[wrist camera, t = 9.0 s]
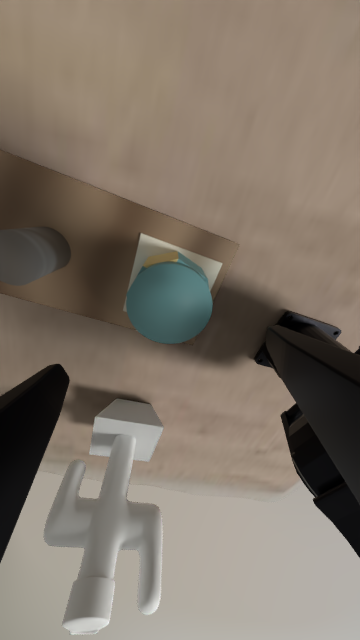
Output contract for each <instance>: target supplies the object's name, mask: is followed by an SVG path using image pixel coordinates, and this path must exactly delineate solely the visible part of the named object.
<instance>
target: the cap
mask: <svg viewBox="0 0 360 640" xmlns="http://www.w3.org/2000/svg"><path fill="white" fill-rule="evenodd" d="M126 296H127V299H126V309H127V314H128V317H129V319H130V321H131V323H132V325H133V326H134V327H135V329H136V330H137V331H138V332H139V333H141V334H142V335H143V336H145V337H146V338H148V339H150V340H152V341H155V342H159V343H165V344H175V343H181V342H184V341H187V340H189V339H191V338H193V337H195V336H196V335H198V334H199V333H200V332H201V331H202V330H203V329H204V328H205V326H206V325H207V323H208V321H209V319H210V317H211V313H212V306H213V305H212V296H211V293H210V290H209V285H208V278H207V277H206V275H205V273H204V271H203V269H202V268H201V267H200V266H198V265H197V264H195V263H194V262H193V261H191V260H190V259H188V258H187V257H185V256H184V255H183V254H181V253H180V252H178V251H175V252H170V253H165V254H160V255H155V256H151V257H148V258H147V260H146V261H145V263H144V265H143V266H142V268H141V270H140V271H139V273H138V275H137V277H136V278H135V280H134V282H133V283H132V285H131V287H130V289H129V290H128V292H127V294H126Z"/></svg>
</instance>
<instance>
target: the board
mask: <svg viewBox="0 0 360 640" xmlns="http://www.w3.org/2000/svg"><path fill="white" fill-rule="evenodd" d="M239 245H240V244H237V243H235V242H232V241H230V240H227V239H225V238H222V237H220V236H217V235H215V234H212V233H210V232H207V231H204V230H202V229H199V228H197V227H194V226H192V225H189V224H187V223H184V222H182V221H179V220H177V219H174V218H172V217H169V216H167V215H164V214H162V213H159V212H156V211H154V210H151V209H149V208H146V207H144V206H141V205H139V204H136V203H134V202H131V201H129V200H126V199H124V198H121V197H119V196H116V195H114V194H111V193H109V192H106V191H103V190H101V189H98V188H96V187H93V186H91V185H88V184H86V183H83V182H81V181H78V180H76V179H73V178H71V177H68V176H66V175H63V174H61V173H58V172H55V171H53V170H50V169H48V168H45V167H43V166H40V165H38V164H35V163H33V162H30V161H28V160H25V159H23V158H20V157H18V156H15V155H13V154H10V153H7V152H5V151H2V150H0V293H2V294H5V295H9V296H13V297H16V298H20V299H24V300H27V301H31V302H35V303H38V304H42V305H46V306H49V307H53V308H57V309H60V310H64V311H68V312H71V313H75V314H79V315H83V316H86V317H90V318H94V319H97V320H101V321H105V322H108V323H112V324H116V325H119V326H123V327H127V328H130V329H134V330H136V329H135V327H134V326H133V325H132V323H131V321H130V319H129V317H128V314H127V309H126V299H127V296H126V294H127V292H128V290H129V289H130V287H131V285H132V283H133V282H134V280H135V278H136V277H137V275H138V273H139V271H140V270H141V268H142V266H143V265H144V263H145V261H146V260H147V258H148V257H151V256H155V255H160V254H165V253H170V252H175V251H178V252H180V253H181V254H183V255H184V256H185V257H187V258H188V259H190V260H191V261H193V262H194V263H195V264H197V265H198V266H200V267H201V268H202V269H203V271H204V273H205V275H206V277H207V278H208V285H209V290H210V293H211V296H212V303H213V301H214V299H215V297H216V295H217V292H218V290H219V288H220V286H221V284H222V282H223V280H224V277H225V275H226V273H227V271H228V269H229V267H230V265H231V262H232V260H233V258H234V256H235V254H236V252H237V250H238V247H239ZM196 338H197V335H196V336H195V337H193V338H191V339H189V340H187V341H184V342H182V343H186V344H189V345H193V344H194V342H195V340H196Z"/></svg>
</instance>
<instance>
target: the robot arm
mask: <svg viewBox="0 0 360 640" xmlns="http://www.w3.org/2000/svg"><path fill="white" fill-rule="evenodd" d="M289 316H290V317H289ZM288 317H289V318H288ZM340 334H341V330H340V329H339V328H337V327H335V326H332V325H329V324H326V323H323V322H320V321H317V320H314V319H311V318H308V317H306V316H303V315H300V314H297V313H294V312H291V311H288V312H286V313H285V314H284V315H283V316H282V318H281V319H280V321H279V322H278V324H277V325H275V326H270V327H268V328H267V331H266V342H265V343H264V345H263V346H262V347H261V349H260V350H259V352H258V353H257V355H256V356H255V358H254V360H255V362H256V363H257V364H259V365H263V366H267V367H271V368H273V369H274V370H275V372H276V373H277V375H278V376H279V378H281V379H282V380H283V382H284V384H285V385H286V387H287V389H288V390H289V392H290V393H291V395H292V397H293V398H294V400H295V401H296V404H294V405H293V406H292V407H291V408H290V409H289V410H288V411H284V412H283V413H282V414H281V419H282V423H283V427H284V430H285V434H286V438H287V442H288V446H289V450H290V453H291V457H292V461H293V464H294V467H295V469H296V472H297V474H298V475H299V476H300V478H301V480H302V481H303V483H304V484H305V485H306V487H307V488H308V489H309V491H310V492H311V493H312V494H313V495H314V497H315V498H314V499H313V501H314V504H315V505H316V506H317V507H318V508H319V509H320V510H321V511H322V512H323V513H324V514H325V515H326V516H327V517H328V518H329V519H330V520H331V521H332V522H333V524H334V525H335V526H336V527H337V529H338V530H339V531H340V532H341V533H342V534H343V536H344V537H345V538H346V539H347V541H348V542H349V543H350V545H351V546H352V548H353V549H354V551H355V552H356V553H357V555H358V556H359V557H360V346H359V349H358V350H357V351H356V352H355V353H352V352H351V351H350V350H348V349H347V348H346V347H344V346H343V345H342V344H340V343H339V342H338V341H336V339H337V337H338V336H339V335H340ZM259 359H260V360H259ZM69 381H70V380H69V376H68V375H67V373H66V371H65V370H64V368H63V367H62V365H60V364H53V365H49V366H47V367H46V368H44V369H42V370H41V371H39V372H38V373H36V374H35V375H33V376H32V377H30V378H28V379H27V380H25V381H24V382H22V383H21V384H19V385H17V386H16V387H14V388H13V389H11V390H10V391H8V392H7V393H5V394H3V395H2V396H0V562H1V560H2V558H3V555H4V553H5V550H6V548H7V545H8V543H9V540H10V538H11V535H12V533H13V530H14V528H15V525H16V523H17V520H18V518H19V515H20V513H21V510H22V508H23V505H24V503H25V500H26V498H27V495H28V493H29V490H30V488H31V485H32V483H33V480H34V478H35V475H36V473H37V471H38V468H39V466H40V463H41V461H42V458H43V456H44V453H45V451H46V448H47V446H48V443H49V441H50V438H51V436H52V433H53V431H54V428H55V426H56V423H57V421H58V418H59V415H60V412H61V409H62V406H63V402H64V399H65V395H66V392H67V389H68V385H69Z"/></svg>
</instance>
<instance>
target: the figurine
mask: <svg viewBox="0 0 360 640" xmlns="http://www.w3.org/2000/svg"><path fill="white" fill-rule="evenodd" d="M163 428H164V426H163V425H162V423H161V421H160V419H159V417H158V416H157V414H156V412H155V410H154V409H153V407H152V405H151V404H146V403H140V402H134V401H129V400H123V399H115V400H114V401H113V402H112V403H111V404H110V405H108V406H107V407H106V408H105V409H104V410H102V411H101V412H100V413H99V414H98V415H96V416H95V421H94V427H93V434H92V440H91V447H90V453H89V454H91V455H99V456H107V457H109V461H108V465H107V469H106V472H105V476H104V480H103V484H102V487H101V491H100V495H99V498H98V499H92V498H81V497H79V495H78V494H79V489H80V485H81V482H82V479H83V476H84V473H85V469H86V465H85V462H84V461H82V460H74V461H73V462H71V464H70V465H69V467H68V469H67V471H66V473H65V476H64V478H63V481H62V483H61V486H60V488H59V490H58V492H57V495H56V497H55V500H54V502H53V505H52V507H51V510H50V512H49V515H48V518H47V521H46V525H45V529H44V540H45V542H46V543H47V544H48V545H50V546H57V547H81V548H84V549H85V551H84V556H83V559H82V563H81V567H80V571H79V574H78V578H77V580H76V581H75V582H74V583H73V586H72V589H71V593H70V597H69V600H68V604H67V608H66V612H65V615H64V619H63V623H62V625H63V627H64V628H65V629H67V630H69V632H70V634H71V635H73V634H74V635H76V634H97V633H98V631H99V630H100V629H101V628H103V627H105V626H107V625H108V624H109V622H110V616H111V609H112V603H113V602H112V601H113V596H114V589H115V581H114V580H113V579H114V571H115V565H116V559H117V554H118V552H119V551H120V550H137V551H138V552H139V555H140V572H139V583H138V595H137V598H138V599H137V603H138V608H139V611H140V612H141V613H142V614H145V615H149V614H152V613H154V612H155V611H156V610H157V608H158V606H159V602H160V595H161V577H162V576H161V575H162V545H163V544H162V543H163V521H162V514H161V511H160V509H159V507H158V506H156V505H154V504H149V503H138V502H130V501H128V500H127V492H128V486H129V480H130V474H131V468H132V462H133V460H140V461H148V462H149V461H150V459H151V456H152V454H153V452H154V449H155V447H156V445H157V442H158V440H159V438H160V435H161V433H162V431H163Z"/></svg>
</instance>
